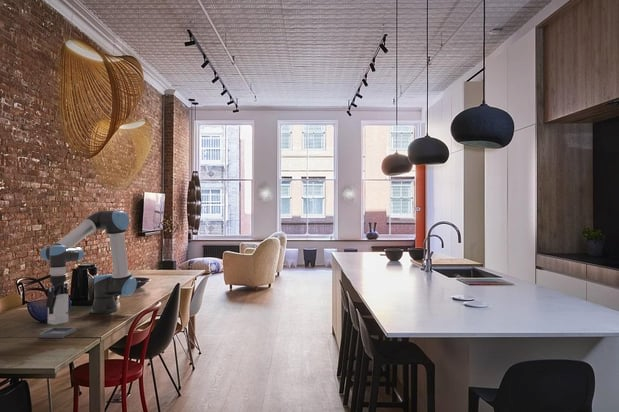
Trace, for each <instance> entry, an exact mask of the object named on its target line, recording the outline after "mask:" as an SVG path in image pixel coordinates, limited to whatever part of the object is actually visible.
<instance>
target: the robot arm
mask: <svg viewBox="0 0 619 412" xmlns="http://www.w3.org/2000/svg"><path fill="white" fill-rule="evenodd" d="M130 223H131V222H130V218H129V215H128V214H127V213H126V212H125V211H123V210H99V211H96V212H94V213H92V214H90V215H88V216H87V217H85V218H84V219H83V220H82V221H81V223H80V224H79V225H78V226H77V227H75V228H74V229H73V230H71V231H70V232H68V233H67V234H66V235H65V236H64V237H62V238H60V240H58V241H57V242H55V243H54V244H53V245H51V246H45V247H43V248H42V249H41V250H40V253H39V254H40V258H41V259H42V260H43V261H48V262H49V275H50V276H49V284H51V287H50V286H48V288H47V295H46V296H47V298H46V305H45V307H46V308H47V309H48V308H49V320H55V307H54V305H55V301H56V296H57V295H58V294H68V304H69V303H70V296H69V289H68V283H66V282H67V275H66V274H67V263H70V262H77V261H81V260H82V259H83V258H84V254H85V253H84V249H83V248H82V247H79V246H77V247H76V245H78V244H79V243H80V242H81V241H82V240H84V239H85V238H86V237H87V236H89V235H90V234H94V233H96V232H97V231H101V230H105V233H106V235H107V236H108V237H109V243H110V253H111V260H112V261H111V262H112V268H113V269H112V270H113V273H107V274H101V275H97V276H95V277H94V281H93V289H94V291H93V294H94V296H93V298H94V299H93V303H92V307H91V311H90V312H91V313H92V314H97V315H98V314H109V313H114V312H117V311H118V305H117V302H116V300H115V296H120V297H126V296H127V297H129V296H131V295H133V294H134V293H135V291H136V288H137V285H138V284H137V283H138V282H137V279H136V278H135V277H134V276H133V275H132V272H131V271H129V264H128V263H129V262H128V255H127V246H126V239H125V237H126V236H125V234H126V233H127V229H128V228H129V227H130ZM54 296H55V297H54ZM48 304H49V305H48Z"/></svg>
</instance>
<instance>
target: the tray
mask: <svg viewBox="0 0 619 412" xmlns="http://www.w3.org/2000/svg"><path fill="white" fill-rule="evenodd" d="M75 331H76V332H77V326H75V327H74V326H54V327H51V328H49V329H47V330H44V331H41V332H39V338H41V339H42V338H45V339H54V338H55V339H64V338H66V337H68V336H70V335H72V334H74V333H75ZM73 332H74V333H73Z"/></svg>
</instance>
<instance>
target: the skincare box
mask: <svg viewBox="0 0 619 412" xmlns="http://www.w3.org/2000/svg"><path fill="white" fill-rule="evenodd" d="M68 294H69V293H68ZM68 294H58V295H57V296H56V301H55V305H54V307H55V320H49V308H47V324H48V325H52V326H55V325H59V324H64V323H68V322H69V303H68ZM54 297H55V296H54ZM48 305H49V304H48Z"/></svg>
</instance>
